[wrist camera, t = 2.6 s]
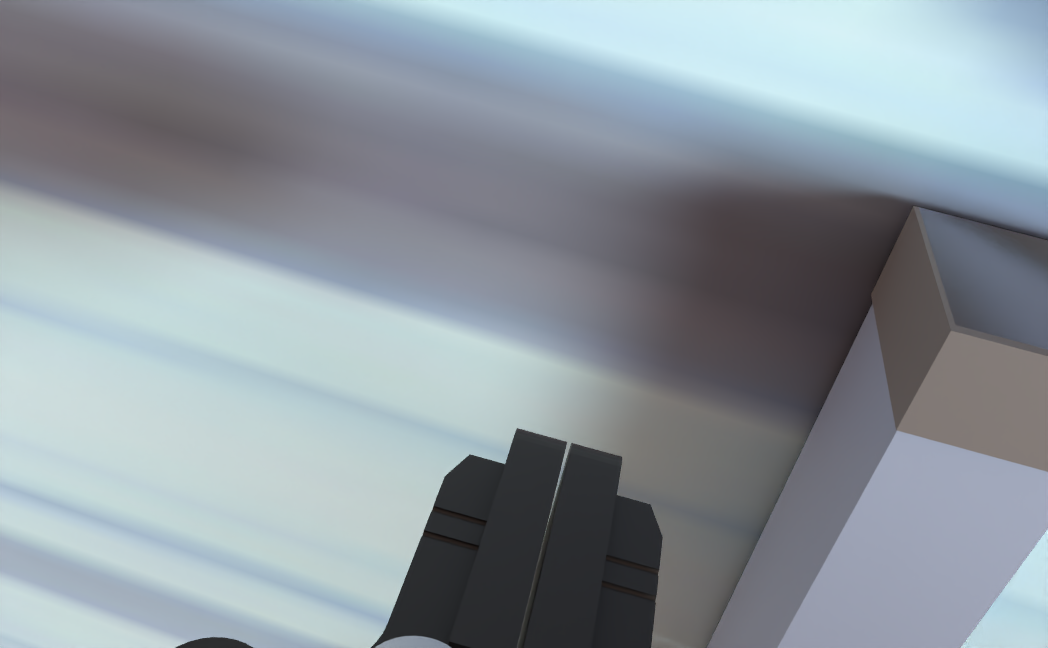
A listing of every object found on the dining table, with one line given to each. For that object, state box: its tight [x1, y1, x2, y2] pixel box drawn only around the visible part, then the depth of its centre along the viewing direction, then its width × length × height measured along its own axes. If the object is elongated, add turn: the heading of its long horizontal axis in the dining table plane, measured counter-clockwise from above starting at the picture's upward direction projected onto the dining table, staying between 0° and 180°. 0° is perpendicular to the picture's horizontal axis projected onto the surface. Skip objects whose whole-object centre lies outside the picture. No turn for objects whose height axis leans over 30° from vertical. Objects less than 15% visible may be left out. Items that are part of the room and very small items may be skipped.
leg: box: [707, 206, 1048, 648], centre depth 20 cm, size 14×3×4 cm, turn 169°
